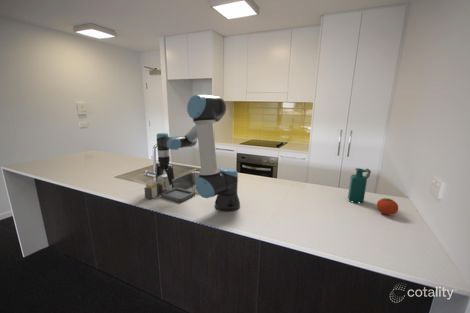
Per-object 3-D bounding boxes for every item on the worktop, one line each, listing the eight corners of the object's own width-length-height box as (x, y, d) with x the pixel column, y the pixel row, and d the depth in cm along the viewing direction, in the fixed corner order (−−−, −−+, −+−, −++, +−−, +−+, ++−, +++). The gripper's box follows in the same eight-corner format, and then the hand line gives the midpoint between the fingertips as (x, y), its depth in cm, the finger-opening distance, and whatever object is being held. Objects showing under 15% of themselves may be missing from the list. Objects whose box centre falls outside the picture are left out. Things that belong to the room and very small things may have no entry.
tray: (195, 195, 146) (195, 192, 145) (180, 203, 134) (180, 199, 133) (176, 190, 154) (176, 187, 153) (161, 197, 142) (160, 193, 141)
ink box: (163, 194, 147) (162, 177, 145) (158, 192, 150) (157, 176, 147) (172, 190, 155) (171, 174, 152) (167, 189, 157) (166, 173, 155)
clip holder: (174, 189, 156) (173, 174, 154) (150, 199, 138) (149, 183, 136) (169, 188, 159) (168, 173, 156) (145, 198, 141) (143, 181, 138)
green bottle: (349, 202, 140) (353, 169, 136) (347, 197, 148) (351, 166, 143) (366, 204, 137) (371, 171, 132) (363, 199, 145) (368, 168, 140)
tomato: (371, 209, 130) (374, 194, 128) (388, 210, 130) (391, 194, 128) (382, 218, 120) (385, 201, 118) (401, 218, 120) (404, 201, 118)
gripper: (178, 156, 145) (180, 188, 150) (157, 153, 155) (159, 184, 159) (170, 158, 139) (172, 192, 143) (149, 155, 148) (151, 187, 153)
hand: (165, 188), depth 151 cm, fingers open, 7 cm apart
